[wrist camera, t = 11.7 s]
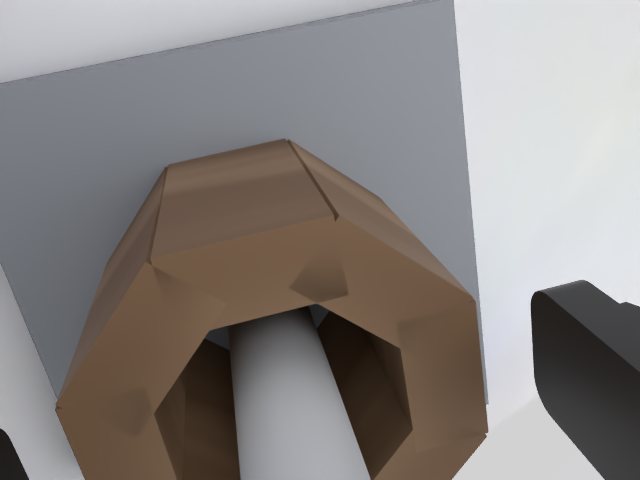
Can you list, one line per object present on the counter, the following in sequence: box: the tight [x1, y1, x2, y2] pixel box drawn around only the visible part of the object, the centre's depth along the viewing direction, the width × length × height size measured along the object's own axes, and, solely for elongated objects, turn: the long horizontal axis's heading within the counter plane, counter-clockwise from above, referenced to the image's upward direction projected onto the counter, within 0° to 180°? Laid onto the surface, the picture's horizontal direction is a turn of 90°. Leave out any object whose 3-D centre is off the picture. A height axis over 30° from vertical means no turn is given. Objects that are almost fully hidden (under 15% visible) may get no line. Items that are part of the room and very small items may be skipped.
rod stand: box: [0, 0, 488, 480], centre depth 10 cm, size 10×10×11 cm
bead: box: [55, 138, 488, 480], centre depth 11 cm, size 6×6×5 cm
